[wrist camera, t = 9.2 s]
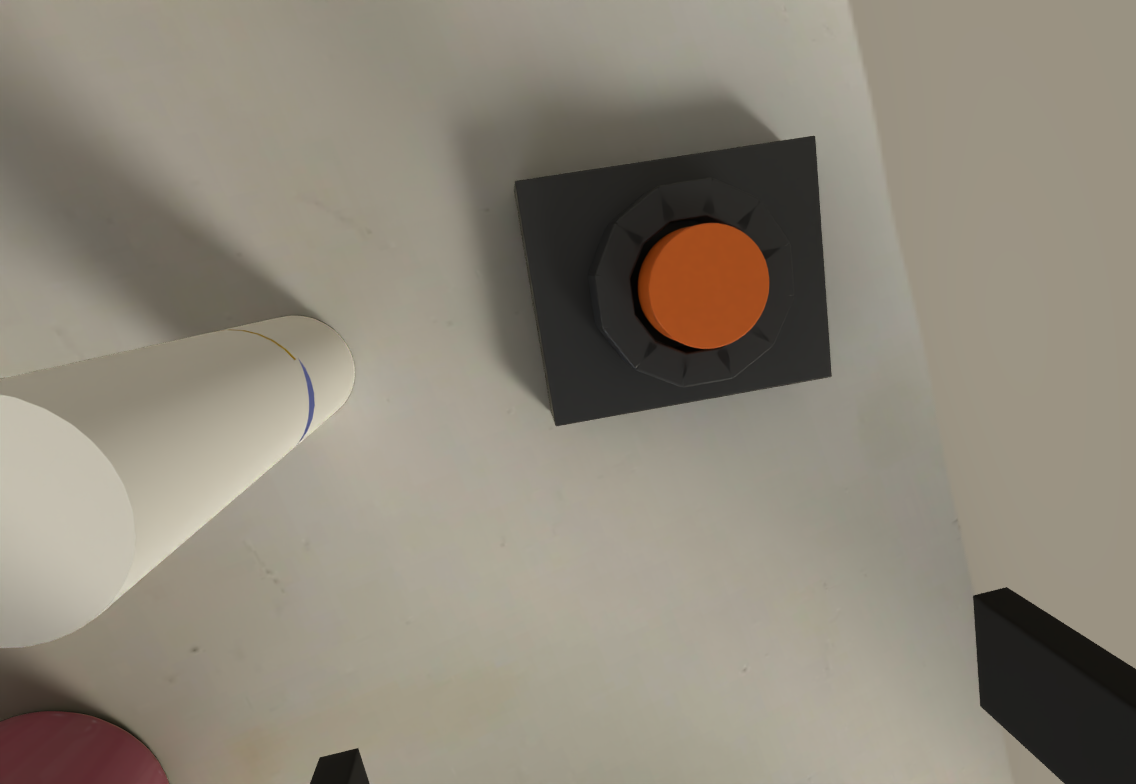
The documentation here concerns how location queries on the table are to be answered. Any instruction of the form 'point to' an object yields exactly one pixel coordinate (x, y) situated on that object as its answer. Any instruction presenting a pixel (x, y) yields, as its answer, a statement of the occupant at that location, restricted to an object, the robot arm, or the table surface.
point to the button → (704, 285)
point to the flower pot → (73, 752)
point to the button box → (615, 255)
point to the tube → (144, 458)
